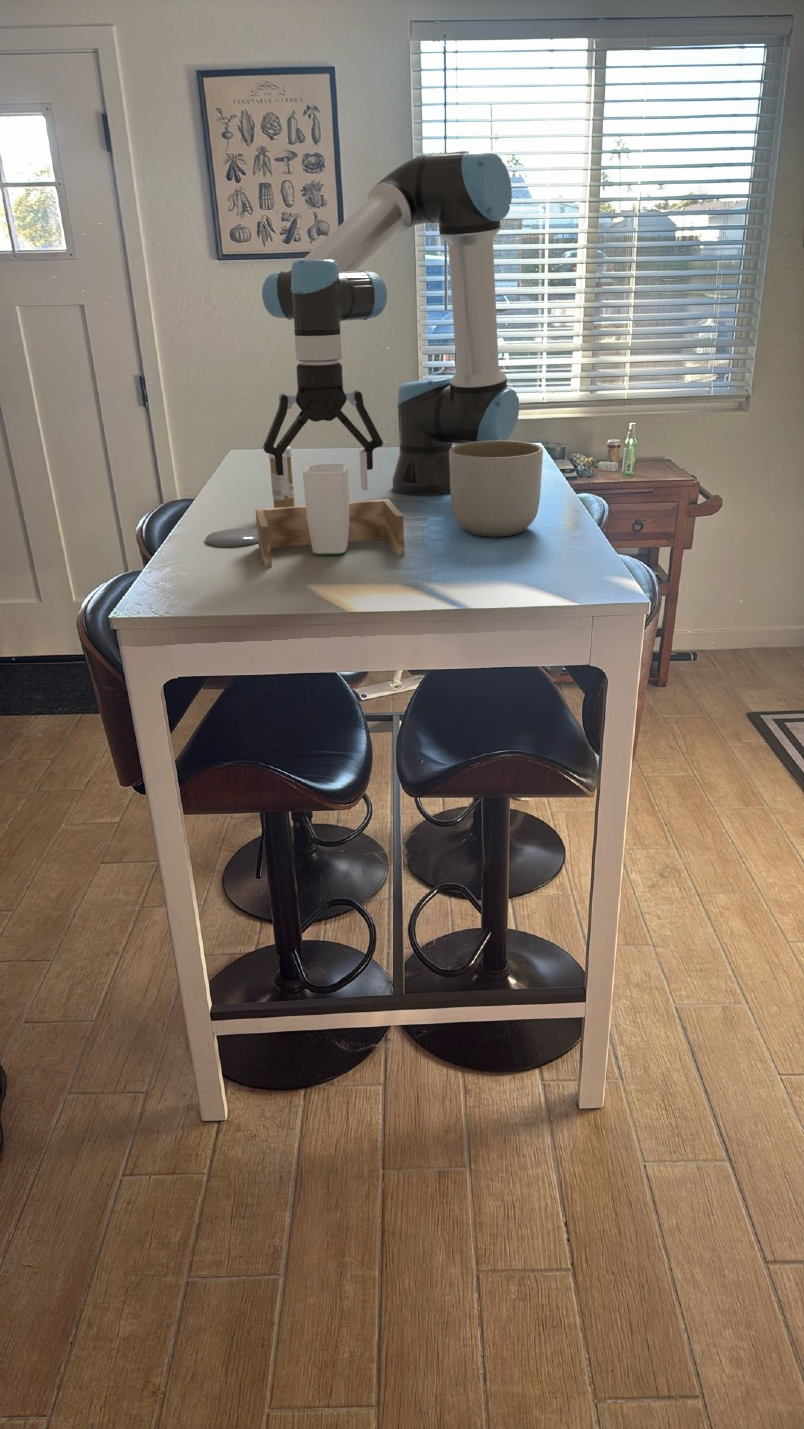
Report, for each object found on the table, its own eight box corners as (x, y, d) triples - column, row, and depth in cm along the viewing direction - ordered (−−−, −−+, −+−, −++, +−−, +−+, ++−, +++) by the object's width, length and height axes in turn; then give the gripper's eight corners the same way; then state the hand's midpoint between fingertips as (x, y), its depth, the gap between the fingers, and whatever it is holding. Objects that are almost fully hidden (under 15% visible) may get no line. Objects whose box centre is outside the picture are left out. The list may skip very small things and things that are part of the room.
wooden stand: (389, 536, 186) (388, 499, 183) (404, 555, 174) (403, 515, 171) (258, 547, 181) (255, 509, 178) (264, 567, 170) (261, 527, 167)
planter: (548, 522, 192) (551, 441, 185) (529, 545, 177) (531, 459, 171) (463, 517, 197) (463, 438, 191) (438, 539, 183) (437, 455, 176)
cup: (307, 558, 174) (301, 472, 168) (313, 546, 181) (307, 464, 174) (348, 557, 174) (343, 472, 167) (353, 546, 180) (348, 463, 174)
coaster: (262, 529, 193) (262, 526, 192) (267, 544, 183) (267, 541, 183) (205, 534, 191) (204, 531, 190) (207, 549, 181) (206, 546, 181)
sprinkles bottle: (299, 514, 203) (294, 447, 197) (279, 517, 201) (274, 450, 195) (289, 509, 207) (284, 443, 201) (269, 513, 204) (264, 446, 199)
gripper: (388, 357, 169) (391, 482, 178) (241, 363, 165) (251, 491, 173) (397, 361, 162) (400, 491, 171) (244, 367, 158) (255, 500, 167)
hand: (325, 491), depth 172 cm, fingers open, 13 cm apart
